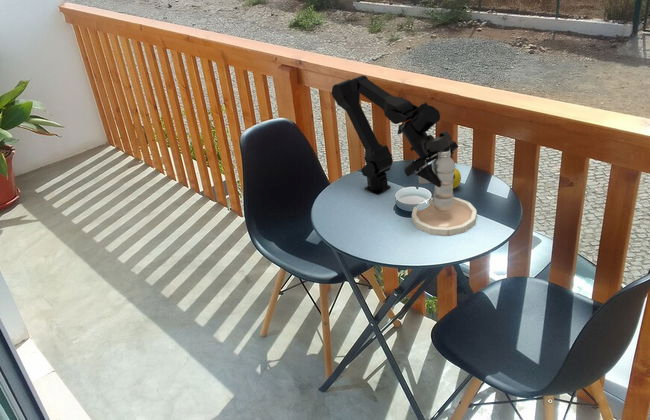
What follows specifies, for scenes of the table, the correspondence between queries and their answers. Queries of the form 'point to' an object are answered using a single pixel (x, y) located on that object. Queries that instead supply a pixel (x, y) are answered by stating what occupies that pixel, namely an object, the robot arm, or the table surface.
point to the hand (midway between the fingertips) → (447, 182)
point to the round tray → (445, 218)
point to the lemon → (456, 178)
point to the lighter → (422, 180)
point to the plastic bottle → (444, 181)
